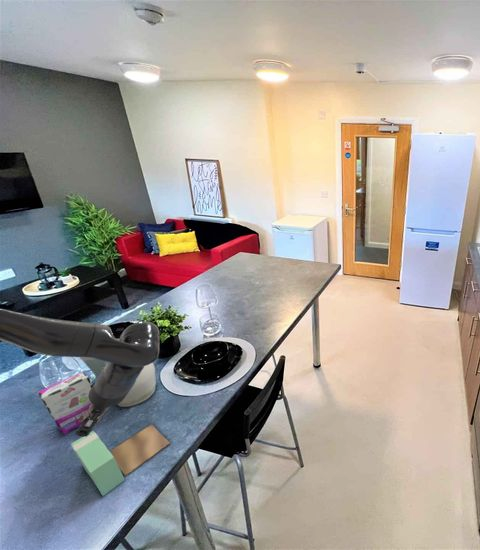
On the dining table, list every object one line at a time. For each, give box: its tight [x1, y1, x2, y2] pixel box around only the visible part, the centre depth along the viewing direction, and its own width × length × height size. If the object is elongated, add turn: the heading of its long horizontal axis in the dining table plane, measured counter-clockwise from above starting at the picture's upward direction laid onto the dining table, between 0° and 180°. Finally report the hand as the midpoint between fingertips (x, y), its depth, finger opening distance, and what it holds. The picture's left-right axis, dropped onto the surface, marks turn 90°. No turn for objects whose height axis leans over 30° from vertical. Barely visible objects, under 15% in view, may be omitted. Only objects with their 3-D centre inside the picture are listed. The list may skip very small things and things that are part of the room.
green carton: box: [70, 430, 126, 497], centre depth 81 cm, size 5×14×10 cm, turn 58°
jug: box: [102, 338, 157, 408], centre depth 104 cm, size 15×16×25 cm
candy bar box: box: [37, 370, 99, 436], centre depth 95 cm, size 11×5×16 cm, turn 147°
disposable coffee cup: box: [78, 357, 109, 378], centre depth 113 cm, size 11×11×15 cm
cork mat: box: [109, 424, 171, 477], centre depth 90 cm, size 12×12×1 cm
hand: (91, 418), depth 77 cm, fingers open, 8 cm apart
